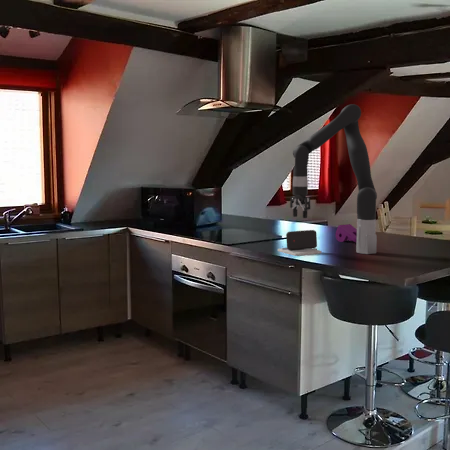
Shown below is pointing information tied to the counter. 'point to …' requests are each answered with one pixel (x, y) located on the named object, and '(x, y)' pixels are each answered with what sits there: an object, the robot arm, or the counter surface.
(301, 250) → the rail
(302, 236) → the leaning round-cornered charcoal block
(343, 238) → the mounting bracket
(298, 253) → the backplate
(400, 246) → the counter surface
